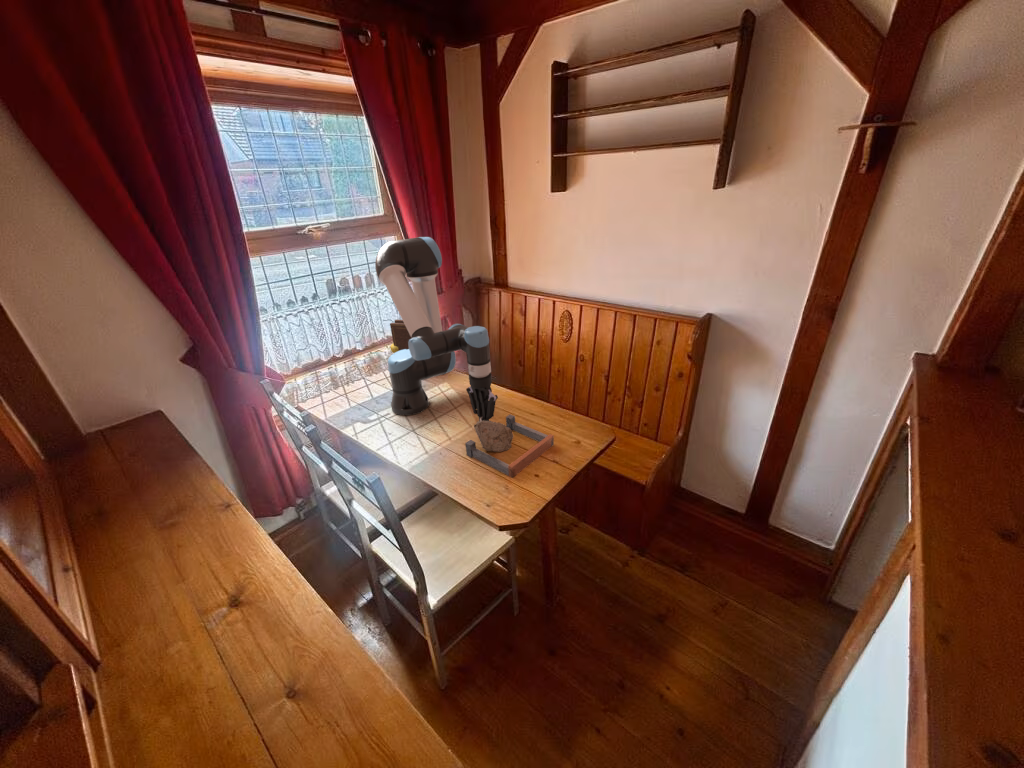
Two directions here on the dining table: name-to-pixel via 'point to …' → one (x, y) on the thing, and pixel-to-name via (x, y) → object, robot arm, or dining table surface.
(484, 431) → the rock
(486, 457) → the frame
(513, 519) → the dining table surface
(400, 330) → the book
